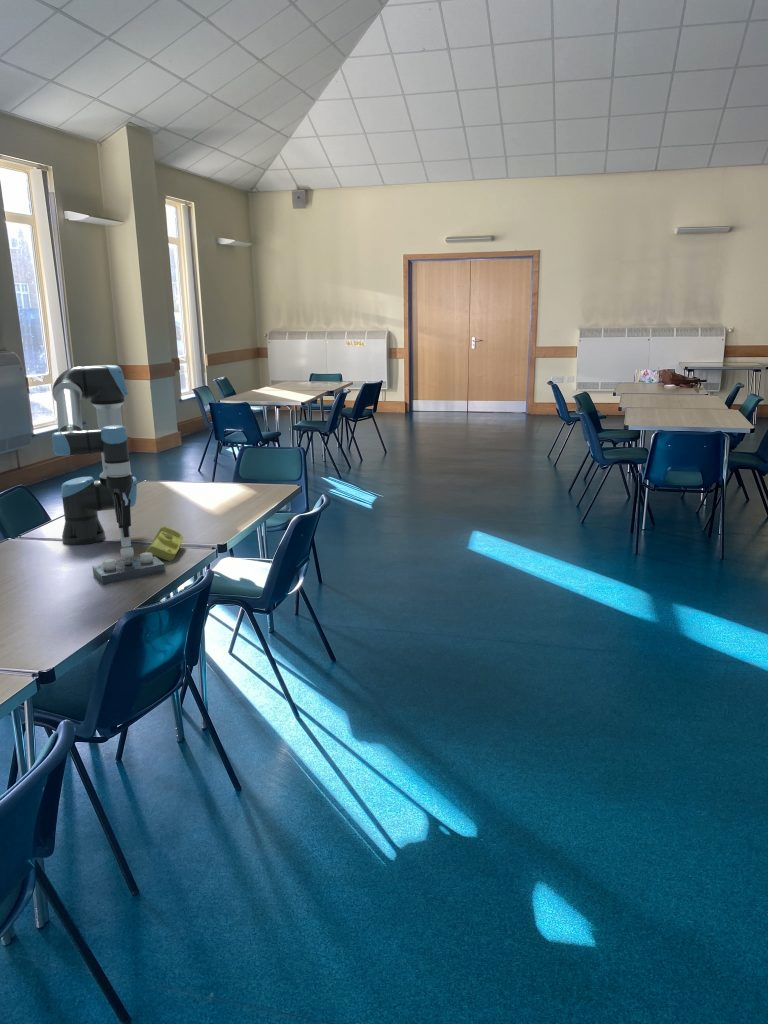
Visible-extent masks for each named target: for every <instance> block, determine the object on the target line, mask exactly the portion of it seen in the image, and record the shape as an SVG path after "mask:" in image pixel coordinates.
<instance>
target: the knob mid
mask: <svg viewBox="0 0 768 1024" xmlns="http://www.w3.org/2000/svg"><path fill="white" fill-rule="evenodd" d="M119 550H120V551H119V552H120V558H122V559H124V560H126V565H130V564H131V563H130V559H132V558H134V556H135V554H134V552H135V551H134V547H131V546H127V547H121V548H120V549H119Z"/></svg>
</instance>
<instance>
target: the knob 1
mask: <svg viewBox="0 0 768 1024" xmlns="http://www.w3.org/2000/svg"><path fill="white" fill-rule="evenodd" d="M116 562H117V561H116V560H115V559H113V558H112V559H111V558H110V559H105V560H103V561H102V563H101V564H103V570H105V571H110V570H114V569H116Z"/></svg>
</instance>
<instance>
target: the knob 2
mask: <svg viewBox="0 0 768 1024" xmlns="http://www.w3.org/2000/svg"><path fill="white" fill-rule="evenodd" d="M139 557H140V562H141V563H151V562H153V555H152V553H150V552H147V551H146V552H141V553H140V554H139Z"/></svg>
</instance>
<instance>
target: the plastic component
mask: <svg viewBox="0 0 768 1024" xmlns="http://www.w3.org/2000/svg"><path fill="white" fill-rule="evenodd" d="M183 541H184V537H183V534H182V533H180V532H179V531H177V530H175V529H173V528H170V527H167V526H161V527H160V529H159V530H158V532H157V534H156V535H155V537H154V538H153V540H152V542H151V544H150V545H149V547H148V548H147V550H146V552H150V553H152V555H154V556H155V557H157V558H159V559H163V560H164V561H170V562H171V561H173V560H174V559H175V557H176V555H177V553H178V551H179V549H180V548H181V545H182V542H183Z"/></svg>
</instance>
